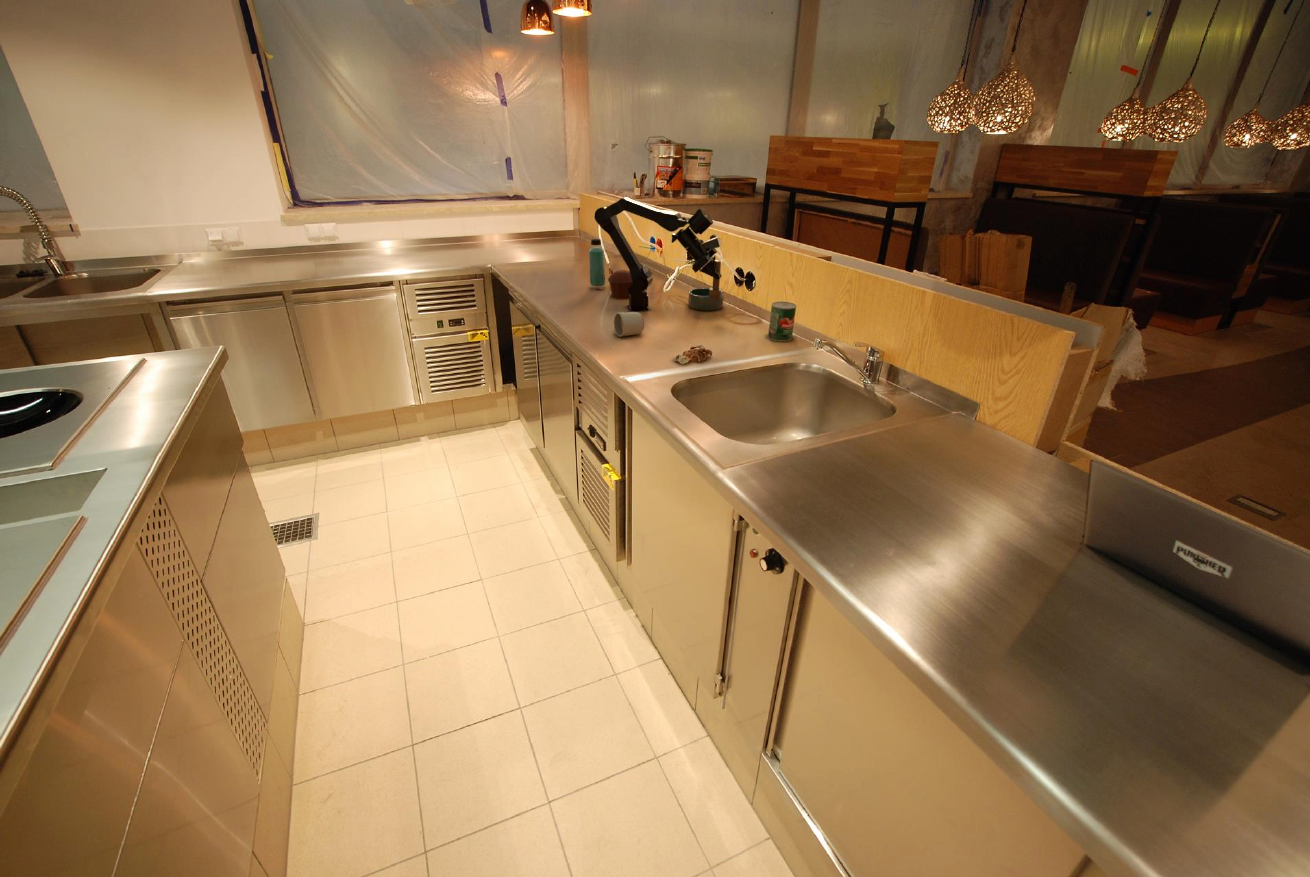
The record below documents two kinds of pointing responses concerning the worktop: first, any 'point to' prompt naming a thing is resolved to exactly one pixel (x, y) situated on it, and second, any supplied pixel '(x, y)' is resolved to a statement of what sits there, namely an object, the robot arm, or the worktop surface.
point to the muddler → (716, 283)
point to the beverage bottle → (596, 264)
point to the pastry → (694, 354)
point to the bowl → (704, 300)
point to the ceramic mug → (628, 323)
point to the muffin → (620, 284)
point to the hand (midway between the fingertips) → (720, 278)
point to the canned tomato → (782, 321)
